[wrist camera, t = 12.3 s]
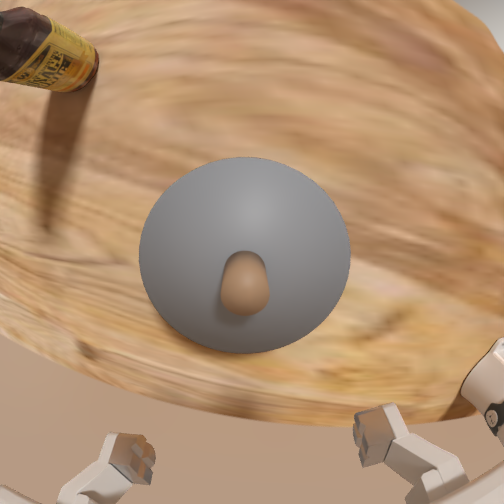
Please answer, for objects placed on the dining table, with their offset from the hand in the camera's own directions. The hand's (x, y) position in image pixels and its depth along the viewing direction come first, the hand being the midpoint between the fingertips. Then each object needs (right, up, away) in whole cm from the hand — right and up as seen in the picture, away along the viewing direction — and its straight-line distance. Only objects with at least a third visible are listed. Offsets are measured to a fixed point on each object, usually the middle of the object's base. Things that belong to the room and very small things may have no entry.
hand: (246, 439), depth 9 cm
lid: (0, +6, +15) cm, 16 cm away
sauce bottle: (-18, +27, +13) cm, 35 cm away
